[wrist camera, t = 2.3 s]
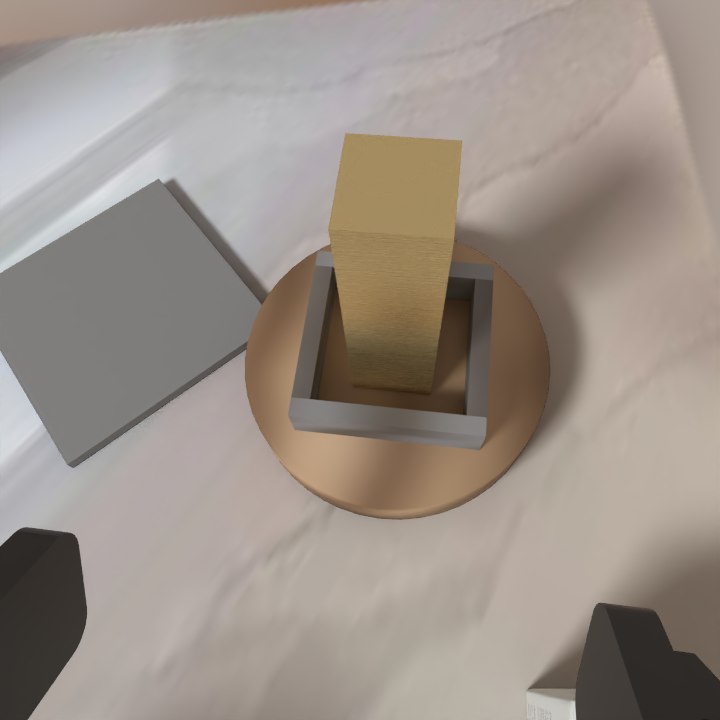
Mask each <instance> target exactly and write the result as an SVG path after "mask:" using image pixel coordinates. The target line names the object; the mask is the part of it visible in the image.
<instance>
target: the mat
mask: <svg viewBox="0 0 720 720" xmlns="http://www.w3.org/2000/svg"><path fill="white" fill-rule="evenodd" d="M261 306H262V304H261V303H260V302H259V301H258V299H257V298H256V297H255V296H254V295H253V293H252V292H251V291H250V290H249V288H248V287H247V286H246V285H245V284H244V282H243V281H242V280H241V279H240V277H239V276H238V275H237V274H236V273H235V271H234V270H233V269H232V268H231V267H230V265H229V264H228V263H227V262H226V260H225V259H224V258H223V257H222V256H221V254H220V253H219V252H218V251H217V249H216V248H215V247H214V246H213V245H212V243H211V242H210V241H209V240H208V238H207V237H206V236H205V235H204V234H203V232H202V231H201V230H200V229H199V227H198V226H197V225H196V224H195V223H194V221H193V220H192V219H191V218H190V216H189V215H188V214H187V213H186V212H185V210H184V209H183V208H182V207H181V205H180V204H179V203H178V202H177V201H176V199H175V198H174V197H173V196H172V195H171V193H170V192H169V191H168V190H167V188H166V187H165V186H164V185H163V184H162V182H161V181H160V180H159V179H157V180H156V181H154V182H152V183H151V184H149V185H147V186H146V187H144V188H142V189H141V190H139V191H137V192H136V193H134V194H132V195H131V196H129V197H127V198H126V199H124V200H122V201H121V202H119V203H117V204H115V205H114V206H112V207H110V208H109V209H107V210H105V211H104V212H102V213H100V214H99V215H97V216H95V217H94V218H92V219H90V220H89V221H87V222H85V223H84V224H82V225H80V226H79V227H77V228H75V229H74V230H72V231H70V232H69V233H67V234H65V235H64V236H62V237H60V238H58V239H57V240H55V241H53V242H52V243H50V244H48V245H47V246H45V247H43V248H42V249H40V250H38V251H37V252H35V253H33V254H32V255H30V256H28V257H27V258H25V259H23V260H22V261H20V262H18V263H17V264H15V265H13V266H12V267H10V268H8V269H6V270H5V271H3V272H1V273H0V351H1V352H2V354H3V356H4V357H5V359H6V361H7V363H8V364H9V366H10V368H11V369H12V371H13V373H14V375H15V376H16V378H17V380H18V381H19V383H20V385H21V387H22V388H23V390H24V392H25V393H26V395H27V397H28V399H29V400H30V402H31V404H32V405H33V407H34V409H35V410H36V412H37V414H38V416H39V417H40V419H41V421H42V422H43V424H44V426H45V428H46V429H47V431H48V433H49V434H50V436H51V438H52V440H53V441H54V443H55V445H56V446H57V448H58V450H59V451H60V453H61V455H62V457H63V458H64V460H65V462H66V463H67V465H69V466H71V467H72V468H74V467H75V466H77V465H78V464H79V463H81V462H82V461H84V460H85V459H87V458H88V457H90V456H91V455H93V454H94V453H95V452H97V451H98V450H100V449H101V448H103V447H104V446H106V445H107V444H109V443H110V442H111V441H113V440H114V439H116V438H117V437H119V436H120V435H122V434H123V433H125V432H126V431H127V430H129V429H130V428H132V427H133V426H135V425H136V424H138V423H139V422H141V421H142V420H143V419H145V418H146V417H148V416H149V415H151V414H152V413H154V412H155V411H157V410H158V409H159V408H161V407H162V406H164V405H165V404H167V403H168V402H170V401H171V400H173V399H174V398H175V397H177V396H178V395H180V394H181V393H183V392H184V391H186V390H187V389H188V388H190V387H191V386H193V385H194V384H196V383H197V382H199V381H200V380H202V379H203V378H204V377H206V376H207V375H209V374H210V373H212V372H213V371H215V370H216V369H218V368H219V367H220V366H222V365H223V364H225V363H226V362H228V361H229V360H231V359H232V358H234V357H235V356H236V355H238V354H239V353H241V352H242V351H244V350H245V349H247V343H248V339H249V336H250V332H251V329H252V325H253V323H254V321H255V318H256V316H257V314H258V312H259V310H260V308H261Z"/></svg>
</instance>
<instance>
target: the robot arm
mask: <svg viewBox="0 0 720 720" xmlns="http://www.w3.org/2000/svg"><path fill="white" fill-rule="evenodd" d="M86 619H87V605H86V597H85V589H84V582H83V574H82V566H81V558H80V551H79V544H78V540H77V538H76V537H75V535H74V534H72V533H67V532H60V531H52V530H44V529H36V528H28V527H25V528H21V529H19V530H18V531H16V532H15V533H14V534H13V535H12V536H11V537H10V538H9V539H8V540H7V541H6V542H5V543H3V544H2V545H1V546H0V720H28V718H29V717H30V715H31V714H32V713H33V711H34V710H35V708H36V707H37V705H38V704H39V703H40V701H41V700H42V698H43V697H44V695H45V694H46V692H47V691H48V690H49V688H50V687H51V685H52V684H53V682H54V681H55V680H56V678H57V677H58V675H59V674H60V672H61V671H62V669H63V668H64V667H65V665H66V664H67V662H68V661H69V659H70V658H71V657H72V655H73V654H74V652H75V651H76V649H77V647H78V645H79V643H80V641H81V638H82V635H83V632H84V629H85V625H86ZM575 710H576V720H720V681H719V679H718V678H717V677H716V676H715V675H714V674H713V673H712V672H711V671H710V670H709V669H708V668H707V667H706V666H705V664H704V663H703V662H702V661H701V660H700V659H699V658H698V657H697V656H696V655H695V654H693V653H685V652H678V651H673V649H672V646H671V644H670V642H669V639H668V637H667V635H666V632H665V630H664V628H663V626H662V623H661V621H660V619H659V617H658V615H657V614H656V612H655V611H654V610H651V609H645V608H637V607H629V606H622V605H614V604H606V603H598V604H597V605H596V606H595V608H594V611H593V615H592V619H591V623H590V627H589V631H588V635H587V640H586V644H585V648H584V652H583V656H582V661H581V665H580V669H579V673H578V677H577V683H576V693H575Z"/></svg>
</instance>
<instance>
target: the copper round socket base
mask: <svg viewBox="0 0 720 720" xmlns="http://www.w3.org/2000/svg"><path fill="white" fill-rule="evenodd" d="M549 377H550V363H549V351H548V346H547V342H546V337H545V333H544V330H543V328H542V325H541V322H540V319H539V317H538V315H537V313H536V311H535V309H534V307H533V305H532V304H531V302H530V300H529V299H528V297H527V296H526V295H525V293H524V292H523V290H522V289H521V288H520V286H519V285H518V284H517V283H516V282H515V281H514V280H513V279H512V278H511V276H510V275H509V274H508V273H507V272H505V271H504V270H503V269H502V268H501V267H500V266H498V265H497V264H496V263H495V262H494V261H492V260H491V259H489V258H488V257H486V256H484V255H483V254H481V253H480V252H478V251H476V250H474V249H472V248H470V247H468V246H466V245H464V244H462V243H460V242H457V241H454V244H453V250H452V257H451V263H450V270H449V276H448V283H447V290H446V296H445V303H444V309H443V316H442V322H441V329H440V335H439V342H438V348H437V355H436V361H435V368H434V374H433V381H432V387H431V394H430V395H426V394H416V393H406V392H396V391H386V390H376V389H367V388H357V387H353V384H352V378H351V371H350V365H349V358H348V352H347V345H346V339H345V332H344V326H343V320H342V313H341V307H340V300H339V294H338V287H337V281H336V274H335V268H334V262H333V255H332V249H331V244H330V245H328V246H325V247H323V248H321V249H320V250H318V251H316V252H314V253H313V254H311V255H309V256H308V257H306V258H305V259H304V260H302V261H301V262H300V263H298V264H297V265H296V266H294V267H293V268H292V269H291V270H290V271H289V272H288V273H287V274H286V275H285V276H284V277H283V278H282V279H281V280H280V281H279V282H278V283H277V284H276V286H275V287H274V288H273V289H272V291H271V292H270V293H269V295H268V296H267V298H266V299H265V301H264V303H263V304H262V306H261V308H260V310H259V312H258V314H257V316H256V318H255V321H254V323H253V325H252V329H251V332H250V336H249V339H248V343H247V350H246V357H245V381H246V388H247V395H248V399H249V402H250V406H251V409H252V413H253V415H254V418H255V420H256V422H257V424H258V426H259V429H260V431H261V432H262V434H263V436H264V437H265V439H266V440H267V442H268V444H269V445H270V447H271V448H272V450H273V451H274V453H275V455H276V456H277V458H278V459H279V461H280V462H281V464H282V465H283V466H284V467H285V468H286V469H287V471H288V472H289V473H290V474H291V475H292V476H293V477H294V478H295V479H296V480H297V481H298V482H299V483H300V484H302V485H303V486H304V487H305V488H306V489H307V490H309V491H310V492H312V493H313V494H315V495H316V496H318V497H319V498H321V499H322V500H324V501H326V502H328V503H330V504H332V505H335V506H337V507H339V508H341V509H344V510H347V511H350V512H353V513H356V514H359V515H364V516H369V517H374V518H381V519H412V518H421V517H426V516H431V515H435V514H440V513H442V512H445V511H448V510H451V509H454V508H456V507H459V506H461V505H463V504H464V503H466V502H468V501H470V500H472V499H474V498H476V497H477V496H479V495H480V494H481V493H483V492H484V491H486V490H487V489H488V488H490V487H491V486H492V485H493V484H494V483H495V482H496V481H498V480H499V479H500V478H501V477H502V476H503V475H504V474H505V473H506V472H507V470H508V469H509V468H510V466H511V465H512V464H513V463H514V461H515V460H516V459H517V457H518V456H519V454H520V453H521V452H522V450H523V449H524V447H525V446H526V444H527V443H528V441H529V439H530V437H531V436H532V434H533V432H534V430H535V429H536V427H537V425H538V422H539V420H540V417H541V415H542V412H543V410H544V407H545V402H546V398H547V394H548V389H549Z"/></svg>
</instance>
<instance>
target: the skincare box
mask: <svg viewBox="0 0 720 720" xmlns="http://www.w3.org/2000/svg"><path fill="white" fill-rule="evenodd" d="M575 693H576V689H528V690H527V691H526V703H527V718H528V720H576V710H575Z"/></svg>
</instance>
